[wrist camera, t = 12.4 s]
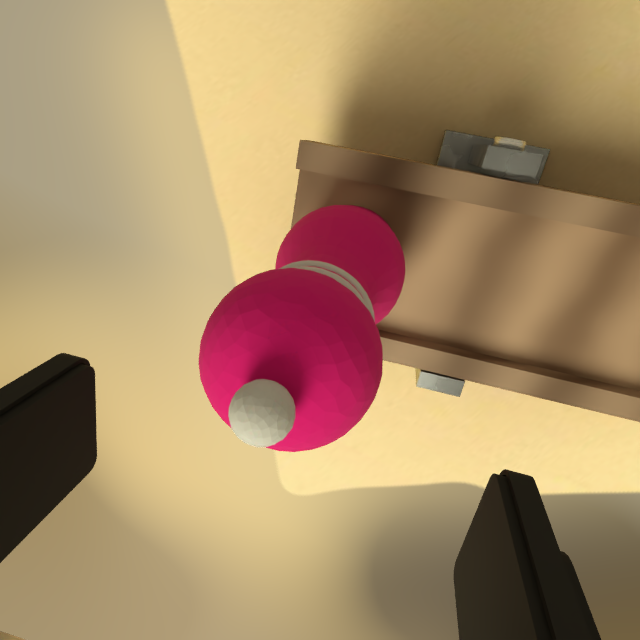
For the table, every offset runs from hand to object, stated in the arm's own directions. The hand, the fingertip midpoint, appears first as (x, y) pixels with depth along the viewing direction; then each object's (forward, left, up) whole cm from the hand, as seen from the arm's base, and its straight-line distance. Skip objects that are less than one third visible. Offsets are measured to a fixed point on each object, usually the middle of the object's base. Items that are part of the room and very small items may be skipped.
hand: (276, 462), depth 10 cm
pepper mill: (+1, 0, -21) cm, 21 cm away
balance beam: (-9, 0, -22) cm, 24 cm away
